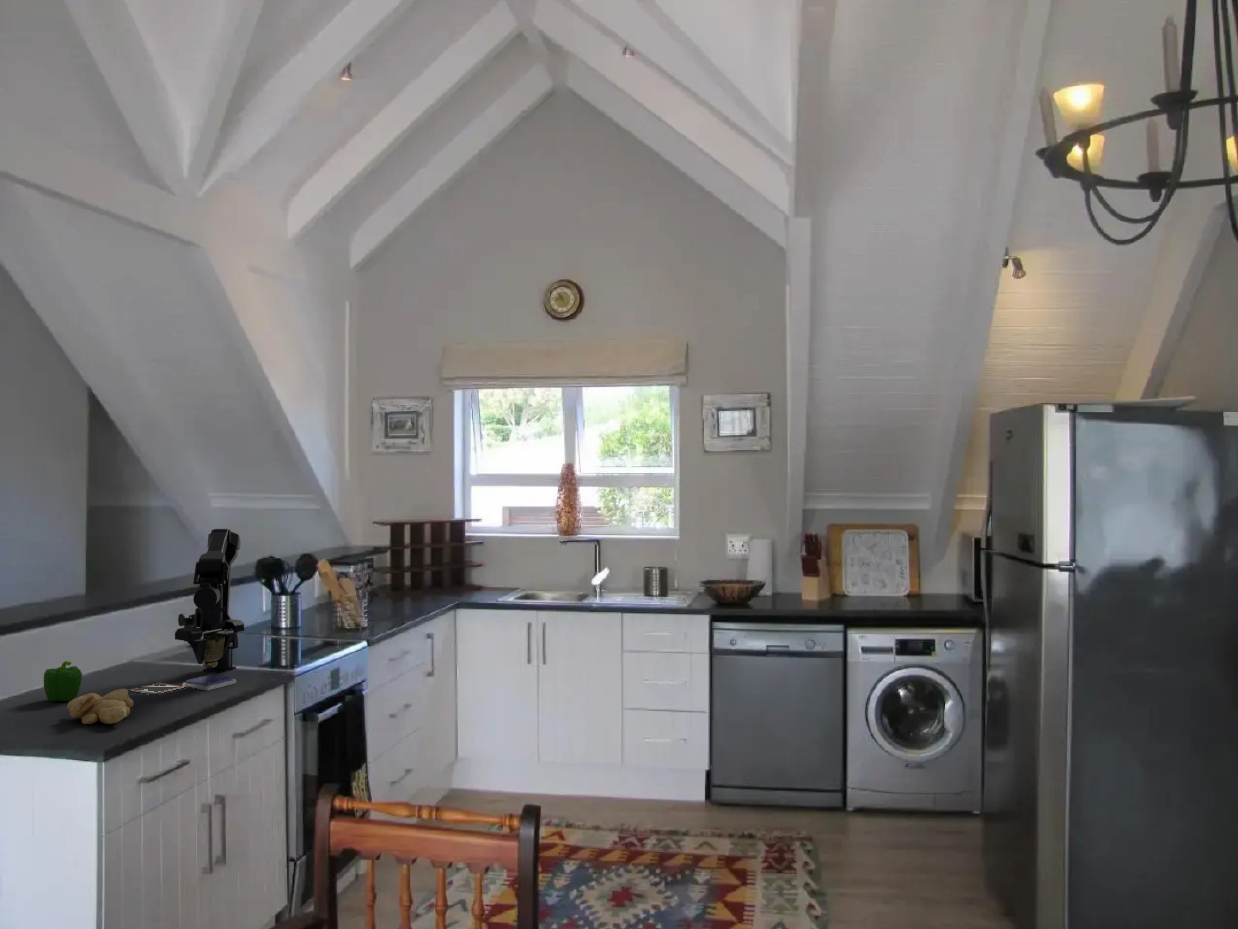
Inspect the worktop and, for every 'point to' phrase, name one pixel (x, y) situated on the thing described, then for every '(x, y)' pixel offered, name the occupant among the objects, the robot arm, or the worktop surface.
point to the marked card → (158, 686)
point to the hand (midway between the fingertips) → (210, 661)
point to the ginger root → (101, 707)
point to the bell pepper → (62, 682)
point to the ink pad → (209, 682)
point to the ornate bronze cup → (213, 650)
